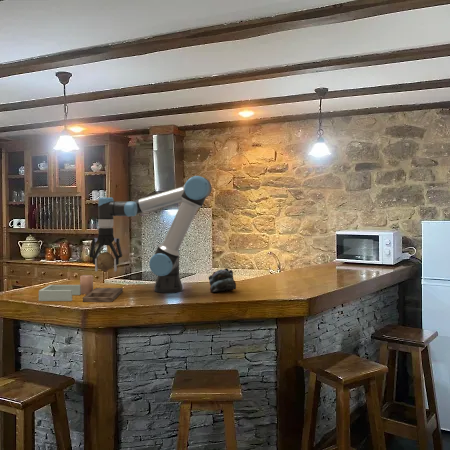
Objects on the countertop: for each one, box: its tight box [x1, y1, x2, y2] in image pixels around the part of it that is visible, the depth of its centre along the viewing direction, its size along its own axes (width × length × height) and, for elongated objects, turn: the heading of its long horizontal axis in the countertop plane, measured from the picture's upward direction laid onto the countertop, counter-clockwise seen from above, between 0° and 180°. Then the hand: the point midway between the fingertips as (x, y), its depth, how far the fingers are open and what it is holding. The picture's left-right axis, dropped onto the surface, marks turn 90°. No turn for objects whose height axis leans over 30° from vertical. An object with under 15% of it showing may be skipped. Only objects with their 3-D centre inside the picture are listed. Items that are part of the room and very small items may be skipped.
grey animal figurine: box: [208, 268, 237, 293], centre depth 256 cm, size 15×12×14 cm
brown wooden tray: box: [82, 287, 124, 303], centre depth 241 cm, size 14×26×2 cm, turn 1°
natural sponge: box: [96, 251, 115, 272], centre depth 246 cm, size 9×9×10 cm
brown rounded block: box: [79, 274, 94, 295], centre depth 250 cm, size 6×6×9 cm
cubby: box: [38, 284, 82, 302], centre depth 238 cm, size 16×16×5 cm
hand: (106, 270), depth 246 cm, fingers closed on natural sponge, 9 cm apart
